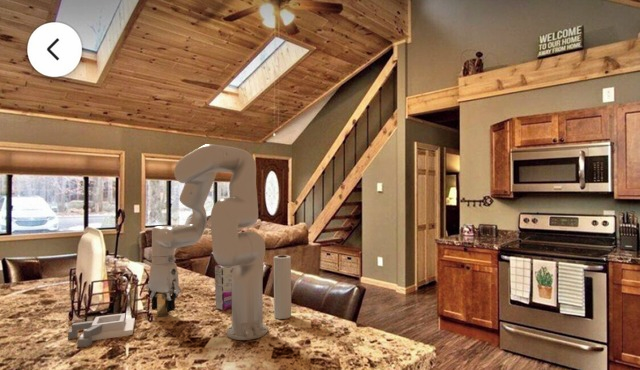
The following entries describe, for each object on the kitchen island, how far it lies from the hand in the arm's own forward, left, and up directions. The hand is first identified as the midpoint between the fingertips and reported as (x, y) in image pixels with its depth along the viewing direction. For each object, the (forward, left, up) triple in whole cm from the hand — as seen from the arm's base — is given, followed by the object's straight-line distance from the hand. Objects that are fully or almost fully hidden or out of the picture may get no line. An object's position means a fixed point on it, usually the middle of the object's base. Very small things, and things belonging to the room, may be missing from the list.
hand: (163, 309), depth 133 cm
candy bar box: (0, -24, -2) cm, 24 cm away
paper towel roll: (-20, -39, -2) cm, 44 cm away
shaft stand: (-12, +18, -2) cm, 22 cm away
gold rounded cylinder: (0, 0, -2) cm, 2 cm away
